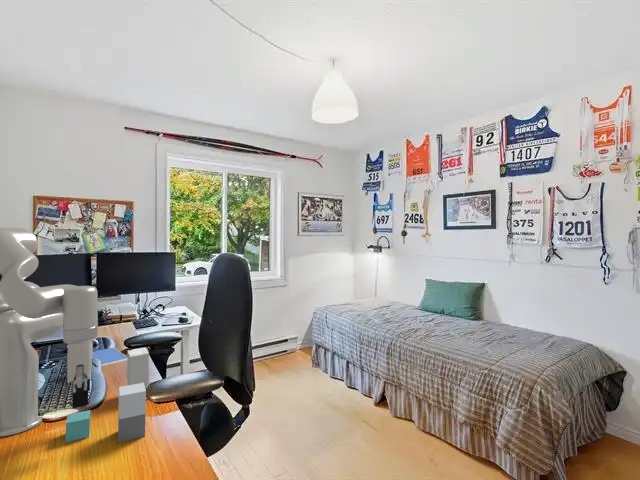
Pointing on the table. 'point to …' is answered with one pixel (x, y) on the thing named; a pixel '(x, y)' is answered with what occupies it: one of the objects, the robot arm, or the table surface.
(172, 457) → the table surface
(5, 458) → the table surface
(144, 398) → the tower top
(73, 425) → the teal block
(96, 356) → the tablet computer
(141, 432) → the tower base
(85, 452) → the table surface
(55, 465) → the table surface
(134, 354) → the skincare box
